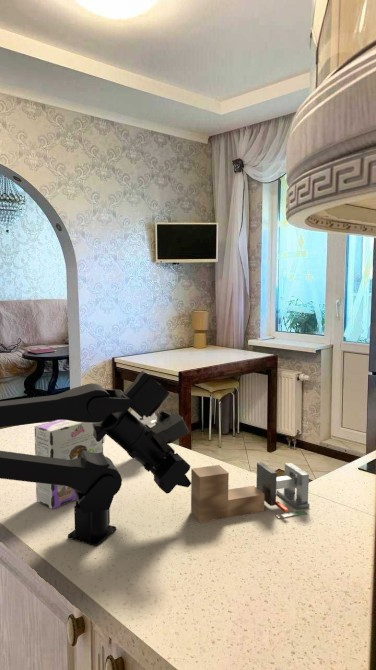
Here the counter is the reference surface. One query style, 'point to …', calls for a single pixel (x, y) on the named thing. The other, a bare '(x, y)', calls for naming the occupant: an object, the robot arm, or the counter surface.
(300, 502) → the gauge housing
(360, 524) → the counter surface
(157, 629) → the counter surface
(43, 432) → the candy box
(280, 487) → the grey bracket
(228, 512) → the walnut block
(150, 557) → the counter surface
